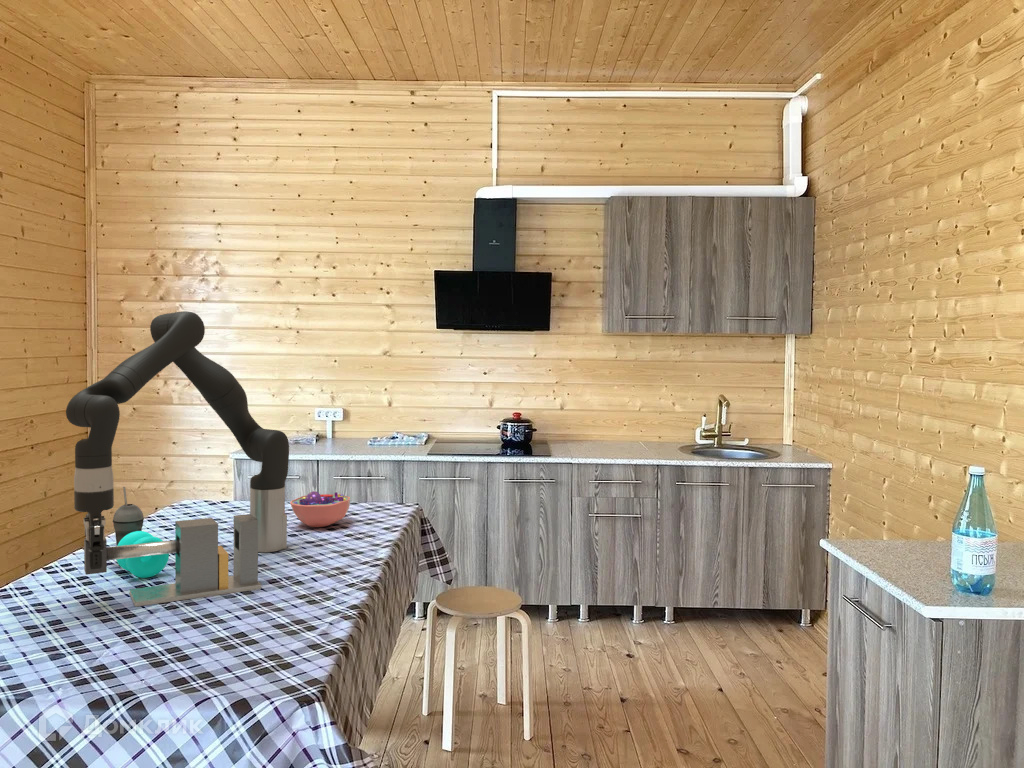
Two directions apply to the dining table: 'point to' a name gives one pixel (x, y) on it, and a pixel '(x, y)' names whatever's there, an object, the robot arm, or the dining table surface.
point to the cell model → (320, 508)
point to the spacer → (222, 568)
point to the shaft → (127, 552)
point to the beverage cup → (127, 519)
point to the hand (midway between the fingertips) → (95, 565)
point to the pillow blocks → (206, 562)
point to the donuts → (144, 564)
